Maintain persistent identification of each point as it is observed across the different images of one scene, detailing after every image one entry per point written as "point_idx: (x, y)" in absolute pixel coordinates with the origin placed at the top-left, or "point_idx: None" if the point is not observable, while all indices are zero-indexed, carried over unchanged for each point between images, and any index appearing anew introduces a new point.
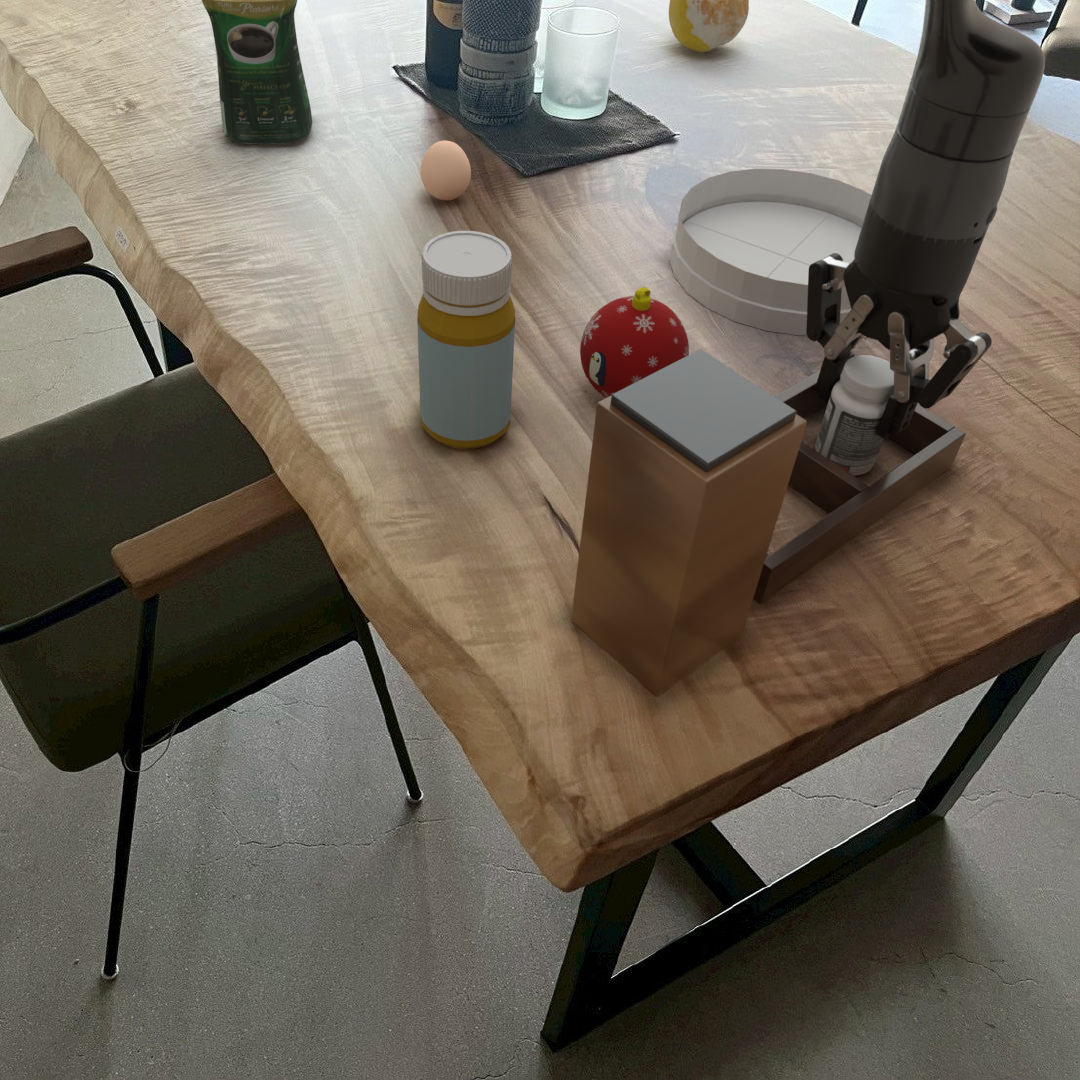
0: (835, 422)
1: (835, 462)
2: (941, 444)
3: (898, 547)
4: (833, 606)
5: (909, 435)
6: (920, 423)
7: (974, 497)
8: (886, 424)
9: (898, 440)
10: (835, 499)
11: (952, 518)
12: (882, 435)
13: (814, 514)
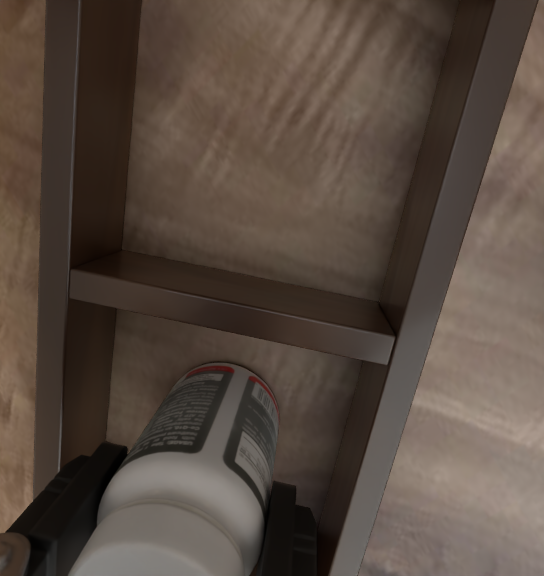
0: (217, 428)
1: (211, 373)
2: None
3: (33, 261)
4: (23, 25)
5: None
6: None
7: (19, 452)
8: (85, 468)
9: None
10: (146, 265)
11: (14, 386)
12: (105, 445)
13: (184, 237)
